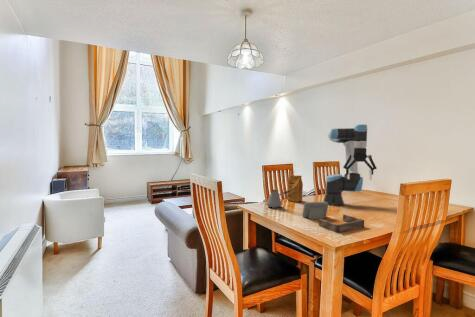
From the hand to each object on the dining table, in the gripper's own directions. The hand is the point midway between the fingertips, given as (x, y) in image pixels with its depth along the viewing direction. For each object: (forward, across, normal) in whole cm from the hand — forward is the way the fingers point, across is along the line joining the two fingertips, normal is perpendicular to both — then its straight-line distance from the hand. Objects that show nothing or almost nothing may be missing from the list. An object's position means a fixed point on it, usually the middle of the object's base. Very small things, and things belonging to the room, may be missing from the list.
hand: (359, 179), depth 173 cm
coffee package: (+25, -42, +35) cm, 60 cm away
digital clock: (+24, -29, -12) cm, 40 cm away
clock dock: (+24, -17, -28) cm, 40 cm away
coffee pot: (+24, -53, +7) cm, 59 cm away
